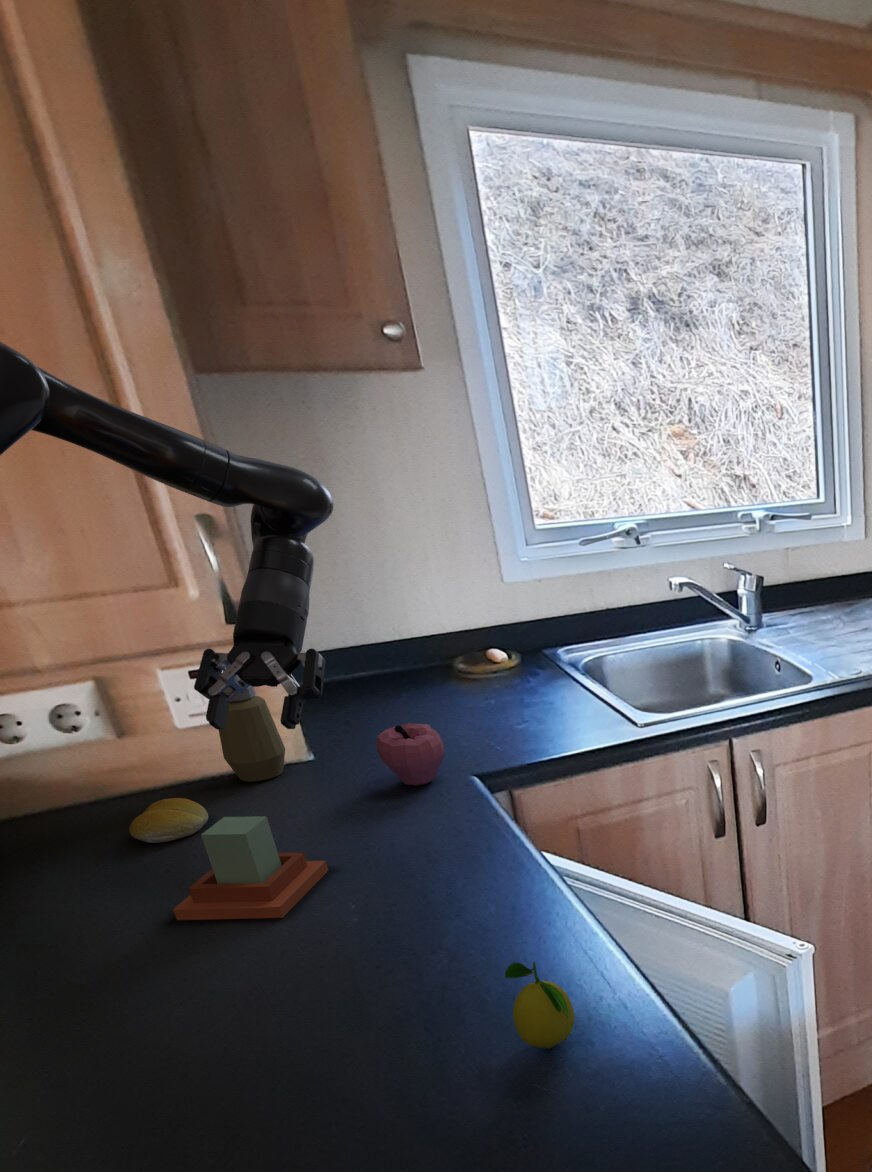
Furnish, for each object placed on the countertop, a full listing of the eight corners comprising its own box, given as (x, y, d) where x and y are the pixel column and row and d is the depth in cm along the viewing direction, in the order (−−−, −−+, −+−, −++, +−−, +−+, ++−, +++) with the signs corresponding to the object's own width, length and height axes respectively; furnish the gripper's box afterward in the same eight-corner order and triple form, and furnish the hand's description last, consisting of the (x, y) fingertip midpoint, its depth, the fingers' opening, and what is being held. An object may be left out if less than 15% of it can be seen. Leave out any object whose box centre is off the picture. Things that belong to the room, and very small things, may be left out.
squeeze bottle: (221, 777, 162) (184, 664, 154) (276, 761, 168) (243, 652, 160) (246, 789, 158) (209, 674, 150) (301, 773, 164) (269, 661, 156)
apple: (457, 785, 161) (443, 723, 156) (396, 799, 156) (380, 736, 151) (438, 766, 167) (424, 706, 163) (379, 779, 162) (363, 718, 158)
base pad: (282, 917, 125) (274, 892, 123) (176, 920, 124) (167, 894, 122) (328, 870, 136) (321, 846, 134) (231, 872, 135) (223, 848, 133)
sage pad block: (264, 893, 127) (245, 833, 124) (220, 894, 127) (200, 834, 123) (284, 873, 132) (266, 816, 128) (242, 874, 131) (223, 816, 128)
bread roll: (122, 847, 141) (112, 820, 139) (156, 819, 148) (147, 793, 147) (190, 843, 142) (181, 816, 140) (220, 815, 150) (211, 790, 148)
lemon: (516, 1032, 106) (498, 949, 101) (577, 1021, 108) (563, 939, 103) (515, 1073, 100) (497, 986, 96) (580, 1060, 102) (564, 975, 98)
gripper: (197, 597, 132) (173, 714, 127) (315, 597, 133) (295, 713, 128) (232, 628, 139) (210, 739, 134) (344, 628, 141) (326, 738, 135)
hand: (252, 726), depth 131 cm, fingers open, 8 cm apart
